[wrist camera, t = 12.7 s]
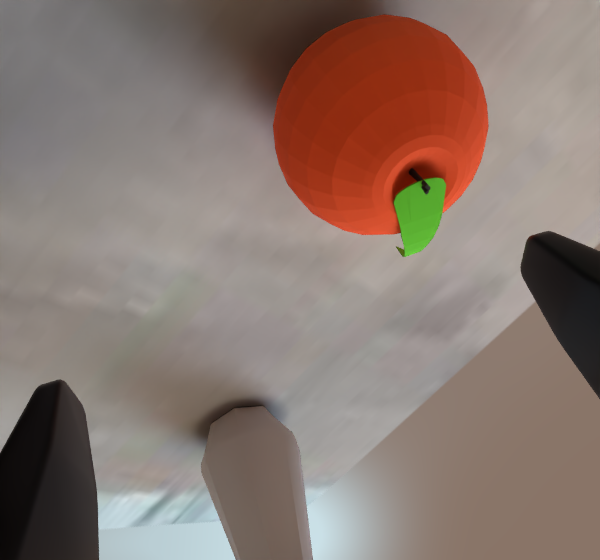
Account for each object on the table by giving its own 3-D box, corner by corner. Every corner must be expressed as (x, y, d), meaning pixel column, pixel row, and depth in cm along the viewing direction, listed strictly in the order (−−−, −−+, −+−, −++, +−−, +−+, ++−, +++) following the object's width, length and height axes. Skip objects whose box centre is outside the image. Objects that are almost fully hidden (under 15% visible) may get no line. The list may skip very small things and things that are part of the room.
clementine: (429, 159, 24) (521, 261, 19) (280, 209, 24) (335, 329, 19) (425, -41, 18) (555, 32, 13) (229, 21, 18) (287, 121, 13)
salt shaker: (266, 383, 32) (342, 633, 22) (301, 424, 36) (377, 649, 27) (177, 427, 32) (216, 690, 23) (221, 462, 36) (270, 698, 27)
